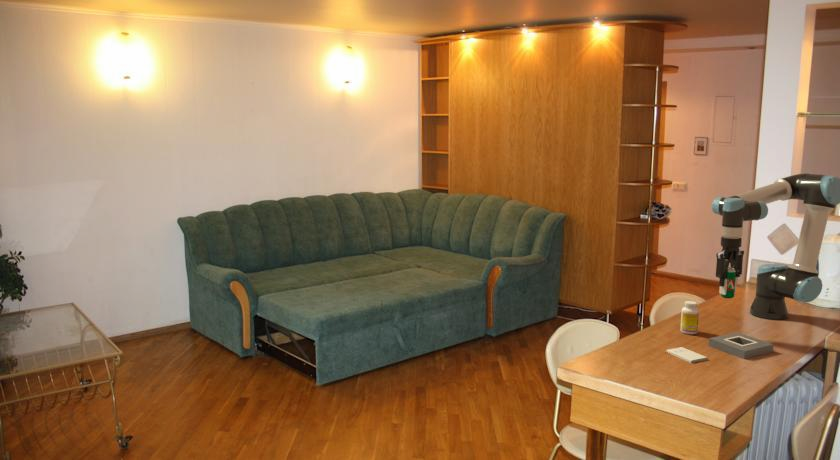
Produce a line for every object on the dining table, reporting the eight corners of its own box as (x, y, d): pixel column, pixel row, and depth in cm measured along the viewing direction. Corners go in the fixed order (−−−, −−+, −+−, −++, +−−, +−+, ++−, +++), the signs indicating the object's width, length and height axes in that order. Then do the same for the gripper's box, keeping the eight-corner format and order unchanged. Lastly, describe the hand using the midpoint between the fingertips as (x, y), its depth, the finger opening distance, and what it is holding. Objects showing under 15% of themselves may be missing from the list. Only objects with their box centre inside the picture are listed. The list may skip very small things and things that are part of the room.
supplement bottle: (698, 335, 269) (701, 305, 267) (681, 334, 270) (683, 304, 268) (695, 330, 276) (697, 300, 273) (678, 329, 277) (680, 299, 275)
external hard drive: (690, 364, 239) (665, 353, 251) (707, 361, 243) (682, 350, 254) (691, 360, 239) (666, 349, 250) (708, 357, 242) (682, 346, 254)
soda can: (723, 294, 270) (725, 266, 268) (736, 297, 267) (738, 268, 264) (718, 297, 267) (720, 268, 265) (731, 299, 263) (733, 270, 261)
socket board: (736, 339, 264) (737, 331, 263) (772, 351, 250) (773, 343, 249) (708, 345, 257) (708, 337, 257) (744, 358, 243) (744, 350, 242)
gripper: (738, 233, 269) (734, 287, 274) (707, 237, 262) (704, 293, 266) (755, 236, 263) (750, 292, 267) (723, 240, 255) (719, 298, 259)
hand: (727, 292), depth 266 cm, fingers closed on soda can, 5 cm apart
